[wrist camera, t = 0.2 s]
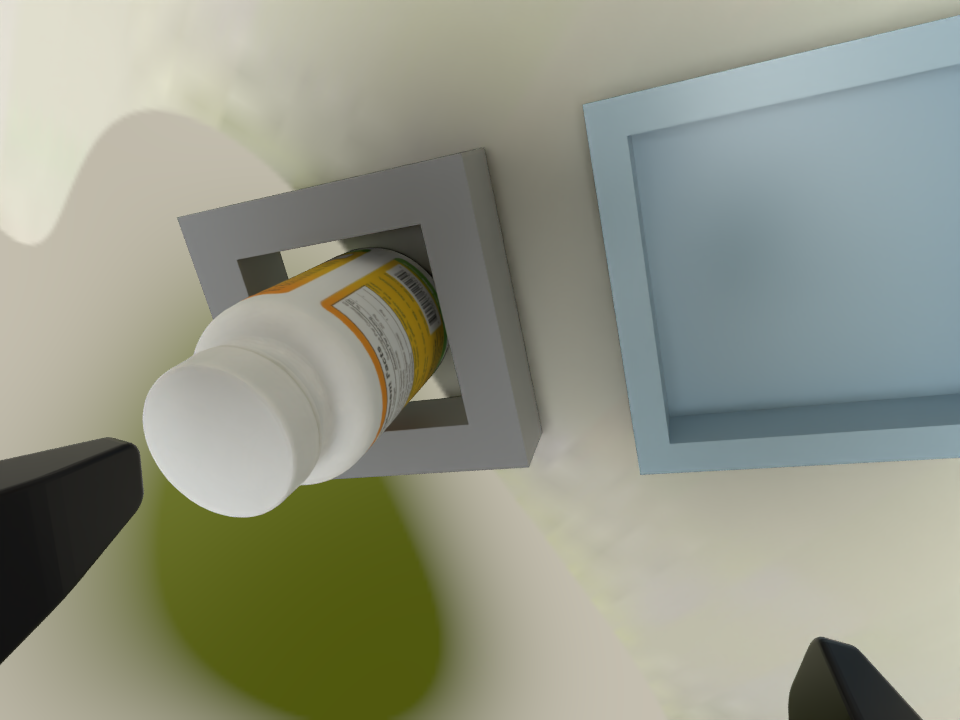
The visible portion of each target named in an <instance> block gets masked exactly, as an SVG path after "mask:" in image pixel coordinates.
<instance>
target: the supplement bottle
mask: <svg viewBox="0 0 960 720" xmlns="http://www.w3.org/2000/svg"><path fill="white" fill-rule="evenodd" d="M448 344H449V341H448V337H447V332H446V328H445V324H444V320H443V316H442V312H441V308H440V304H439V299H438V295H437V291H436V287H435V283H434V280H433V279H432V278H431V276H430V275H429V274H428V273H427V272H426V271H425V270H424V269H423V268H422V267H421V266H419V265H418V264H417V263H416V262H414V261H413V260H411V259H410V258H408V257H406V256H404V255H402V254H400V253H397V252H394V251H391V250H388V249H382V248H361V249H356V250H352V251H349V252H346V253H344V254H341V255H339V256H336V257H334V258H332V259H330V260H328V261H326V262H324V263H322V264H320V265H318V266H316V267H314V268H312V269H309V270H307V271H305V272H303V273H301V274H299V275H297V276H295V277H292V278H290V279H288V280H286V281H283V282H281V283H279V284H277V285H275V286H273V287H270V288H268V289H266V290H263V291H261V292H259V293H257V294H255V295H252V296H250V297H247V298H246V299H244V300H242V301H240V302H238V303H237V304H235V305H233V306H232V307H230V308H228V309H226V310H225V311H223V312H222V313H221V314H219V315H218V316H217V317H216V318H215V319H214V320H213V321H212V322H211V323H210V324H209V325H208V326H207V328H206V329H205V330H204V332H203V334H202V335H201V337H200V339H199V341H198V343H197V346H196V348H195V352H194V355H193V356H191V357H190V358H188V359H187V360H185V361H183V362H182V363H180V364H179V365H176V366H175V367H173V368H171V369H169V370H168V371H166V372H165V373H164V374H163V375H161V376H160V377H159V378H158V379H157V380H156V381H155V383H154V384H153V386H152V387H151V389H150V390H149V392H148V394H147V397H146V400H145V404H144V411H143V428H144V433H145V438H146V441H147V445H148V447H149V450H150V452H151V454H152V456H153V458H154V460H155V462H156V464H157V465H158V467H159V468H160V470H161V471H162V472H163V474H164V475H165V477H166V478H167V479H168V480H169V481H170V483H171V484H172V485H173V486H174V487H176V488H177V489H178V490H179V491H180V492H181V493H182V494H184V495H185V496H186V497H187V498H189V499H190V500H191V501H193V502H195V503H196V504H198V505H199V506H201V507H204V508H205V509H207V510H210V511H212V512H215V513H219V514H222V515H226V516H231V517H253V516H257V515H261V514H264V513H266V512H268V511H270V510H272V509H274V508H275V507H277V506H278V505H279V504H280V503H282V502H283V501H284V500H285V499H286V498H287V497H288V496H289V495H290V494H291V493H292V492H293V491H294V490H295V489H296V488H297V487H298V486H300V485H310V484H316V483H321V482H324V481H328V480H330V479H333V478H335V477H337V476H339V475H341V474H342V473H344V472H345V471H347V470H348V469H350V468H351V467H352V466H353V465H354V464H355V463H356V462H357V461H358V460H359V459H360V458H361V457H362V456H363V455H364V454H365V453H366V452H367V450H368V449H369V448H370V447H371V446H372V445H373V444H374V443H375V441H376V440H377V439H378V438H379V437H380V435H381V434H382V433H383V432H384V431H385V429H386V428H387V427H388V426H389V425H390V424H391V422H392V421H393V420H394V419H395V418H396V416H397V415H398V414H399V413H400V412H401V410H402V409H403V408H404V407H405V406H406V405H407V403H408V402H409V401H410V400H411V399H412V398H413V397H414V395H415V394H416V393H417V392H418V391H419V390H420V389H421V387H422V386H423V385H424V384H425V383H426V382H427V380H428V379H429V378H430V377H431V376H432V375H433V373H434V372H435V371H436V369H437V368H438V366H439V365H440V363H441V362H442V360H443V358H444V356H445V353H446V350H447V347H448Z"/></svg>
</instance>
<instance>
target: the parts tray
mask: <svg viewBox="0 0 960 720" xmlns="http://www.w3.org/2000/svg"><path fill="white" fill-rule="evenodd" d="M583 111H584V117H585V123H586V130H587V136H588V143H589V149H590V155H591V162H592V168H593V175H594V181H595V187H596V194H597V200H598V207H599V213H600V219H601V226H602V232H603V239H604V245H605V251H606V258H607V264H608V271H609V277H610V283H611V290H612V296H613V303H614V309H615V315H616V322H617V328H618V335H619V341H620V347H621V354H622V360H623V367H624V373H625V379H626V386H627V392H628V399H629V405H630V411H631V418H632V424H633V431H634V437H635V443H636V450H637V456H638V463H639V469H640V475H645V474H664V473H683V472H701V471H720V470H739V469H757V468H776V467H794V466H813V465H832V464H850V463H869V462H888V461H906V460H925V459H944V458H960V15H958V16H954V17H949V18H945V19H941V20H937V21H932V22H928V23H924V24H920V25H916V26H911V27H907V28H903V29H899V30H895V31H890V32H886V33H882V34H878V35H874V36H869V37H865V38H861V39H857V40H852V41H848V42H844V43H840V44H836V45H831V46H827V47H823V48H819V49H815V50H810V51H806V52H802V53H798V54H794V55H789V56H785V57H781V58H777V59H773V60H768V61H764V62H760V63H756V64H751V65H747V66H743V67H739V68H735V69H730V70H726V71H722V72H718V73H714V74H709V75H705V76H701V77H697V78H693V79H688V80H684V81H680V82H676V83H671V84H667V85H663V86H659V87H655V88H650V89H646V90H642V91H638V92H634V93H629V94H625V95H621V96H617V97H613V98H608V99H604V100H600V101H596V102H591V103H587V104H583Z"/></svg>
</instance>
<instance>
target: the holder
mask: <svg viewBox="0 0 960 720" xmlns="http://www.w3.org/2000/svg"><path fill="white" fill-rule="evenodd" d="M177 219H178V222H179V224H180V227H181V230H182V233H183V235H184V239H185V241H186V244H187V247H188V250H189V253H190V255H191V258H192V261H193V264H194V267H195V269H196V272H197V275H198V278H199V281H200V284H201V286H202V289H203V292H204V295H205V297H206V300H207V303H208V306H209V309H210V311H211V314H212V317H213V320H214V319H215V318H216V317H217V316H218V315H219V314H221V313H222V312H223V311H225V310H226V309H228V308H230V307H232V306H233V305H235V304H237V303H238V302H240V301H242V300H244V299H246V298H247V297H250V296H252V295H255V294H257V293H259V292H261V291H263V290H266V289H268V288H270V287H273V286H275V285H277V284H279V283H281V282H283V281H286V280H288V276H287V273H286V270H285V267H284V263H283V260H282V257H281V254H280V251H284V250H289V249H295V248H300V247H305V246H310V245H315V244H320V243H326V242H331V241H336V240H341V239H346V238H351V237H356V236H362V235H367V234H372V233H377V232H382V231H387V230H392V229H398V228H403V227H408V226H413V225H418V224H420V225H421V229H422V233H423V237H424V242H425V246H426V250H427V254H428V258H429V262H430V266H431V271H432V275H433V279H434V283H435V287H436V291H437V295H438V299H439V304H440V308H441V312H442V316H443V320H444V324H445V328H446V332H447V337H448V341H449V345H450V349H451V353H452V357H453V361H454V366H455V370H456V374H457V378H458V382H459V386H460V390H461V394H462V396H461V397H451V398H441V399H431V400H421V401H411V402H408V403H407V405H406V406H405V407H404V408H403V409H402V410H401V412H400V413H399V414H398V415H397V416H396V418H395V419H394V420H393V421H392V422H391V424H390V425H389V426H388V427H387V428H386V429H385V431H384V432H383V433H382V434H381V435H380V437H379V438H378V439H377V440H376V441H375V443H374V444H373V445H372V446H371V447H370V448H369V449H368V450H367V452H366V453H365V454H364V455H363V456H362V457H361V458H360V459H359V460H358V461H357V462H356V463H355V464H354V465H353V466H352V467H351V468H350V469H348V470H347V471H345V472H344V473H342V474H341V475H339V476H337V477H335V478H333V479H342V478H359V477H375V476H392V475H409V474H425V473H442V472H458V471H474V470H492V469H508V468H525V467H529V466H530V463H531V460H532V458H533V455H534V453H535V450H536V447H537V445H538V442H539V440H540V437H541V434H542V429H541V424H540V419H539V414H538V409H537V404H536V399H535V394H534V390H533V385H532V380H531V375H530V370H529V365H528V360H527V355H526V350H525V345H524V341H523V336H522V331H521V326H520V321H519V316H518V311H517V306H516V301H515V297H514V292H513V287H512V282H511V277H510V272H509V267H508V262H507V257H506V253H505V248H504V243H503V238H502V233H501V228H500V223H499V218H498V213H497V208H496V204H495V199H494V194H493V189H492V184H491V179H490V174H489V169H488V164H487V160H486V155H485V150H484V148H480V149H475V150H471V151H466V152H462V153H458V154H453V155H449V156H444V157H440V158H436V159H431V160H427V161H422V162H418V163H414V164H409V165H405V166H400V167H396V168H392V169H387V170H383V171H378V172H374V173H370V174H365V175H361V176H356V177H352V178H348V179H343V180H339V181H334V182H330V183H326V184H321V185H317V186H312V187H308V188H304V189H299V190H295V191H291V192H286V193H282V194H278V195H273V196H269V197H265V198H260V199H255V200H251V201H247V202H242V203H238V204H233V205H229V206H225V207H220V208H216V209H212V210H208V211H203V212H199V213H195V214H190V215H186V216H181V217H178V218H177Z"/></svg>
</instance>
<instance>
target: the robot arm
mask: <svg viewBox="0 0 960 720" xmlns="http://www.w3.org/2000/svg"><path fill="white" fill-rule="evenodd" d="M143 494H144V493H143V480H142V470H141V459H140V452H139V450H138V448H137V447H136V446H135V445H134V444H132V443H129V442H126V441H122V440H119V439H115V438H109V437H106V438H101V439H96V440H92V441H87V442H82V443H78V444H73V445H69V446H64V447H60V448H55V449H50V450H46V451H41V452H37V453H33V454H28V455H23V456H19V457H14V458H10V459H5V460H1V461H0V664H1V663H2V662H3V661H4V660H5V659H6V658H7V657H8V656H9V655H10V654H11V653H12V652H13V651H14V650H15V649H16V648H17V647H18V646H19V645H20V644H21V643H22V642H23V641H24V640H25V639H26V638H27V637H28V636H29V635H30V634H31V633H32V632H33V630H34V629H36V628H37V626H39V625H40V624H41V622H42V621H43V620H44V619H45V618H46V617H47V616H48V615H49V614H50V613H51V612H52V611H53V610H54V609H55V608H56V607H57V606H58V605H59V604H60V603H61V601H62V600H63V599H64V598H65V597H66V596H67V595H68V594H69V593H70V591H71V590H72V589H73V588H74V587H75V586H76V584H77V583H78V582H79V581H80V580H81V578H82V577H83V576H84V575H85V573H86V572H87V571H88V570H89V568H90V567H91V566H92V565H93V564H94V563H95V561H96V560H97V559H98V558H99V556H100V555H101V554H102V553H103V551H104V550H105V549H106V548H107V547H108V545H109V544H110V543H111V542H112V541H113V539H114V538H115V537H116V536H117V534H118V533H119V532H120V531H121V529H122V528H123V527H124V526H125V525H126V523H127V522H128V521H129V520H130V519H131V517H132V516H133V515H134V514H135V513H136V511H137V510H138V508H139V506H140V504H141V502H142V499H143ZM788 713H789V720H923V719H922V718H921V717H920V716H919V715H918V714H917V713H916V712H915V711H914V710H913V708H912V707H911V706H910V705H909V704H908V703H907V702H906V701H905V700H904V699H903V698H902V696H901V695H900V694H899V693H898V692H897V691H896V690H895V689H894V688H893V687H892V685H891V684H890V683H889V682H888V681H887V680H886V679H885V678H884V677H883V676H882V674H881V673H880V672H879V671H878V670H877V669H876V668H875V667H874V666H873V665H872V664H871V662H870V661H869V660H868V659H867V658H866V657H865V656H864V655H863V654H862V653H861V652H860V651H859V650H858V649H857V648H856V647H854V646H852V645H850V644H846V643H843V642H839V641H835V640H832V639H828V638H825V637H817V638H815V639H814V640H813V641H812V642H811V643H810V645H809V647H808V649H807V652H806V654H805V656H804V658H803V661H802V663H801V665H800V668H799V670H798V672H797V674H796V677H795V679H794V681H793V683H792V686H791V689H790V694H789V702H788Z"/></svg>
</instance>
